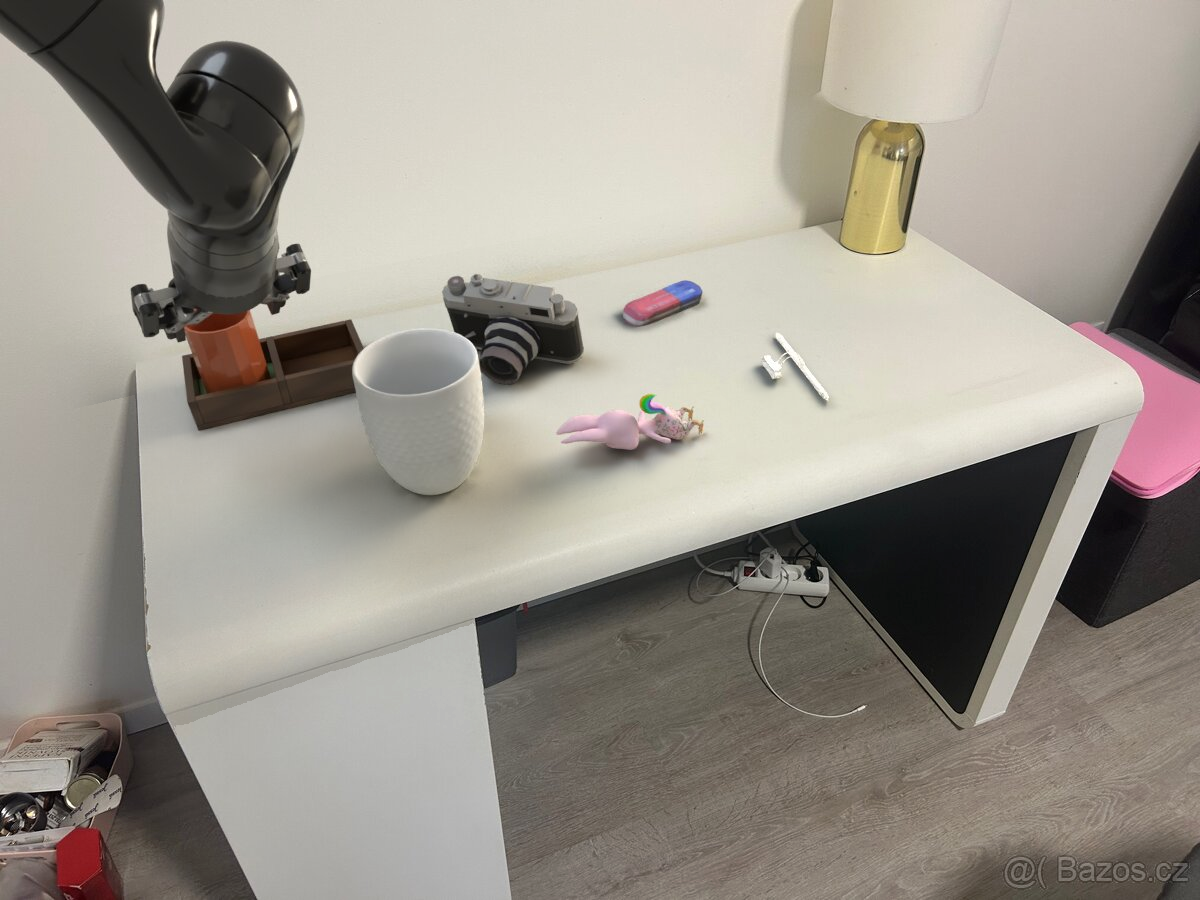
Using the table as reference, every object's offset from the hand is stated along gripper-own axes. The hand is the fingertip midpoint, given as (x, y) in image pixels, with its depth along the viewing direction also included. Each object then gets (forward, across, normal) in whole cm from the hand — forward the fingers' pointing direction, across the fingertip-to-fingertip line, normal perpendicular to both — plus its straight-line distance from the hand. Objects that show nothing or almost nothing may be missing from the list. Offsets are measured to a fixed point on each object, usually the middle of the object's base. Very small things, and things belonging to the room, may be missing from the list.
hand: (225, 318), depth 79 cm
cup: (+15, 0, +3) cm, 15 cm away
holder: (+15, -5, +4) cm, 16 cm away
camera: (+7, -27, +12) cm, 30 cm away
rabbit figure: (-7, -30, +26) cm, 40 cm away
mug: (-1, -13, +21) cm, 24 cm away
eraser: (+8, -49, +12) cm, 51 cm away
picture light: (-6, -52, +26) cm, 58 cm away
